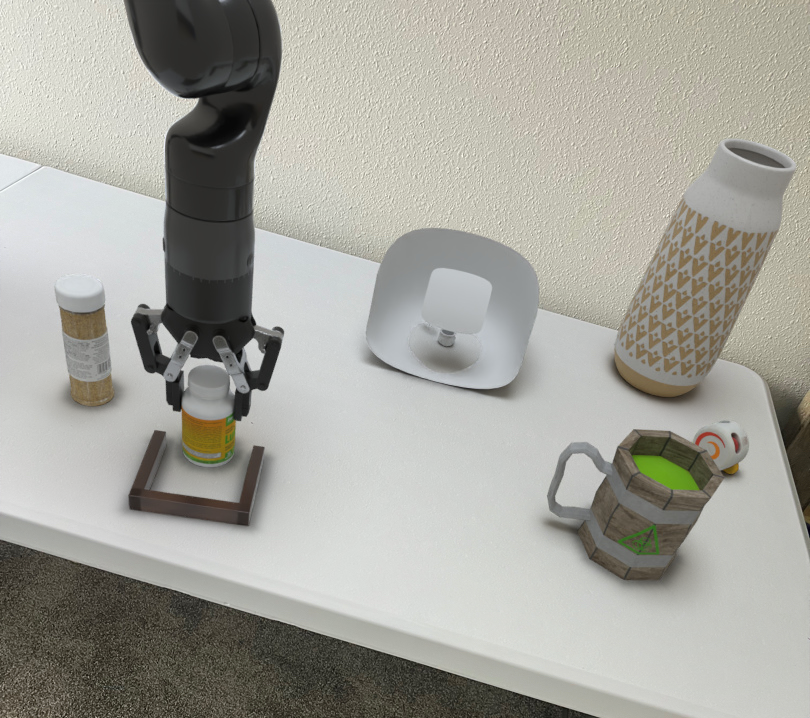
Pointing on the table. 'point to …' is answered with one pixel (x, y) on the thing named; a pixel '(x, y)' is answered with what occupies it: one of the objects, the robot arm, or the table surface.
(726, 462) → the roller toy
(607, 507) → the mug
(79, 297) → the sprinkles bottle
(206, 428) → the supplement bottle
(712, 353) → the vase
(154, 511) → the frame
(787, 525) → the table surface
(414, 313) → the rounded square lampshade
